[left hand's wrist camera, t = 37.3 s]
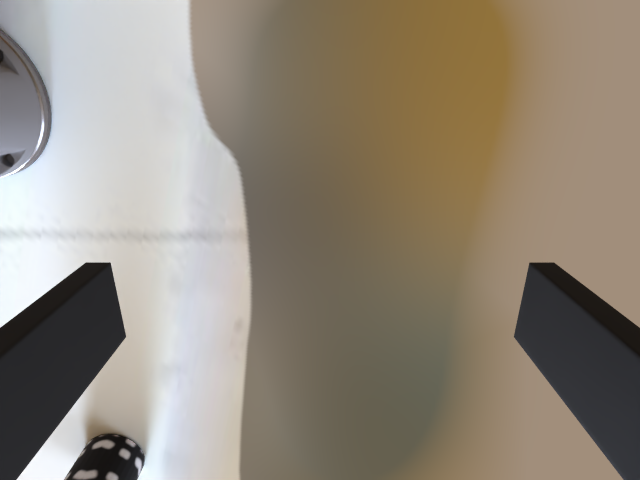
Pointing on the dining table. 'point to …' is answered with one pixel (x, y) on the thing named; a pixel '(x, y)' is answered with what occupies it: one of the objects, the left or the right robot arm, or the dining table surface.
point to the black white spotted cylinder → (108, 460)
